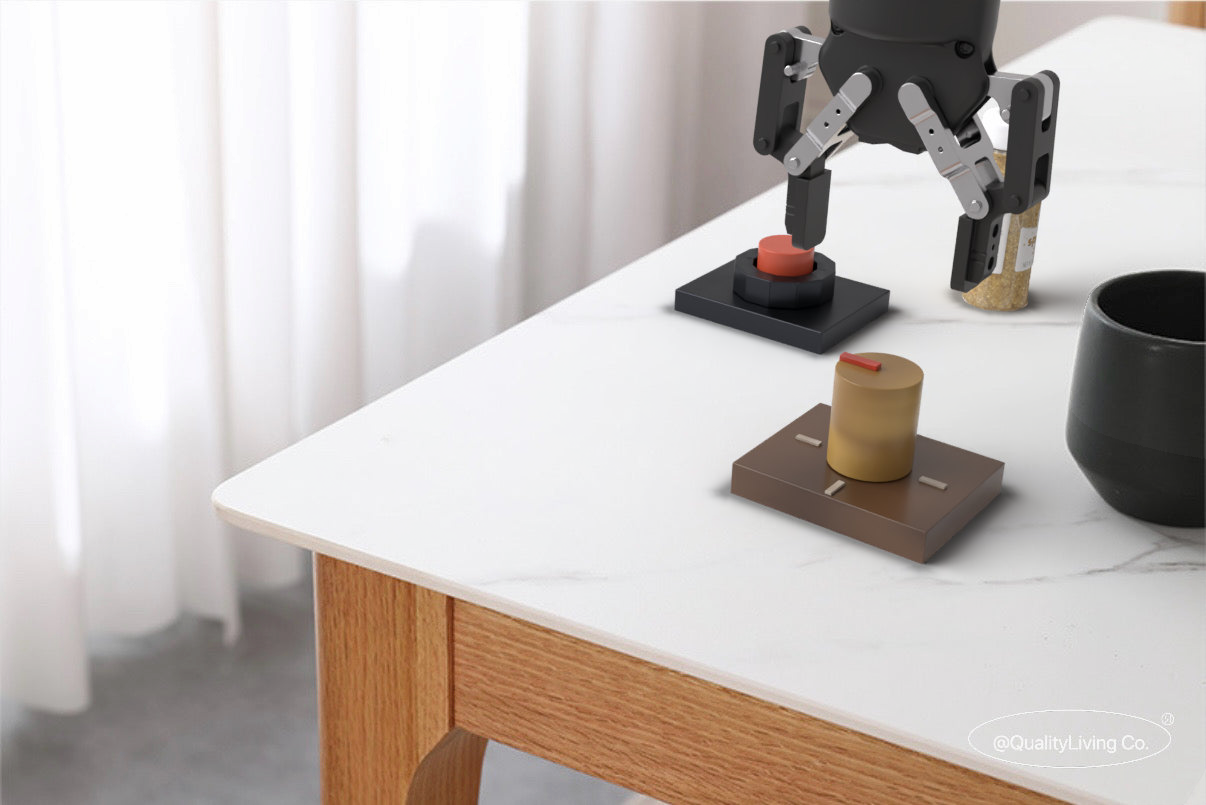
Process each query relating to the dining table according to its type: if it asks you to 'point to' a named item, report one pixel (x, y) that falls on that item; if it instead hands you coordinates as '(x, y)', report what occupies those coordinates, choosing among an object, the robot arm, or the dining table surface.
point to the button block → (784, 302)
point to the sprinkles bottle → (1007, 240)
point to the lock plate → (869, 488)
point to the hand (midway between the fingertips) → (884, 265)
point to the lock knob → (874, 416)
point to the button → (783, 257)
